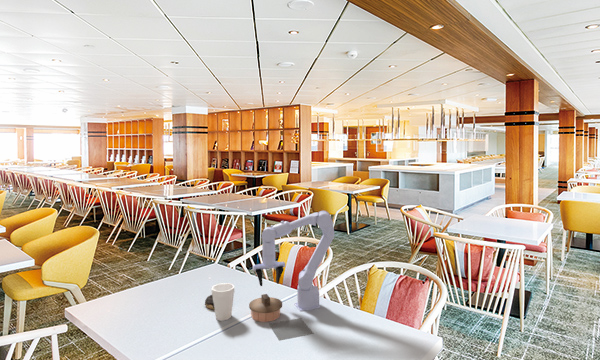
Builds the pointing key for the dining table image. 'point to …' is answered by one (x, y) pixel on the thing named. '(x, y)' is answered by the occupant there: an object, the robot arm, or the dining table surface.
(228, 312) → the foam cup
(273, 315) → the bowl
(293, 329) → the mat
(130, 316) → the dining table surface
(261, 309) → the lid
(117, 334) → the dining table surface
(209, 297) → the donut
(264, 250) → the robot arm
